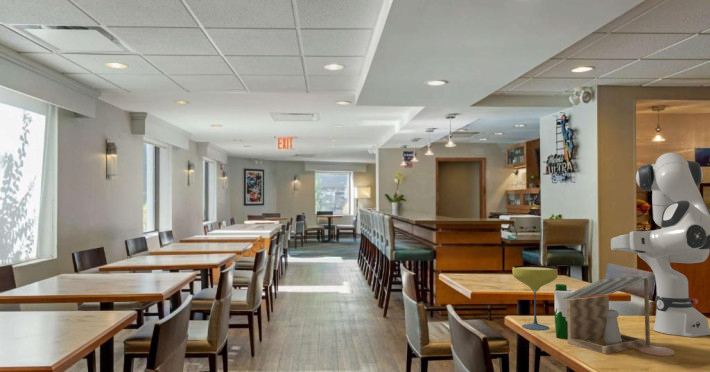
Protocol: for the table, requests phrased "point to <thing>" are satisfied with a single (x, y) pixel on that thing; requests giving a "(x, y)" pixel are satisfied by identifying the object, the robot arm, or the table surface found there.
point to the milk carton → (561, 310)
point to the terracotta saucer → (655, 350)
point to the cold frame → (601, 315)
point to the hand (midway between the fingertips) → (623, 249)
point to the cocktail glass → (535, 284)
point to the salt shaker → (612, 328)
